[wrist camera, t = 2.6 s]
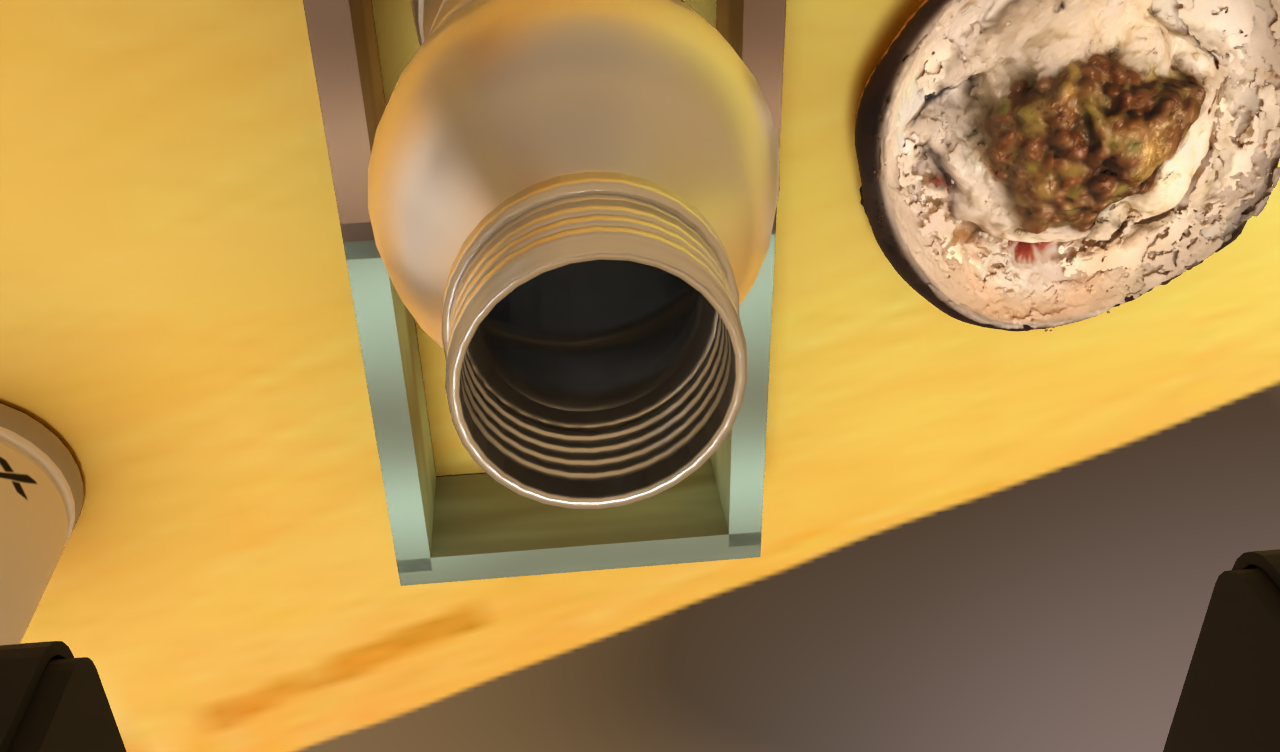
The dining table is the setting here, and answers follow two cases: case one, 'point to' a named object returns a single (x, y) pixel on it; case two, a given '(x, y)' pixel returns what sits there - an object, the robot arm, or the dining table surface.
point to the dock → (418, 500)
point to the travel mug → (32, 515)
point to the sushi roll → (1066, 149)
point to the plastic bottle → (578, 234)
